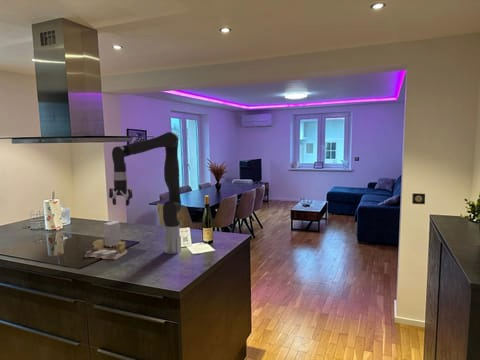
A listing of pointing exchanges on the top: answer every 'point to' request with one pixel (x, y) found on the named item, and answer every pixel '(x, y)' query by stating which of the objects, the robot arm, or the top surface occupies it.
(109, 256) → the gauge board
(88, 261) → the top surface
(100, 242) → the slider leg
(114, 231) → the skincare box
